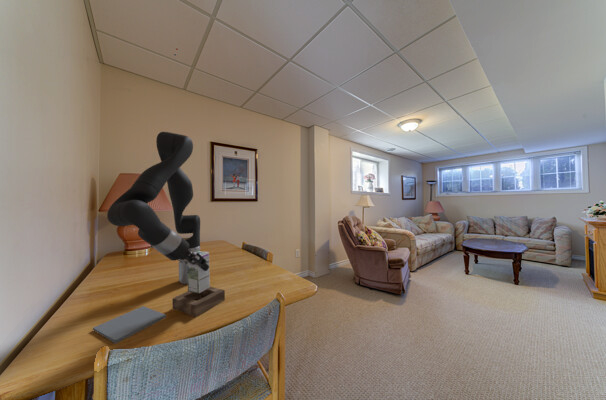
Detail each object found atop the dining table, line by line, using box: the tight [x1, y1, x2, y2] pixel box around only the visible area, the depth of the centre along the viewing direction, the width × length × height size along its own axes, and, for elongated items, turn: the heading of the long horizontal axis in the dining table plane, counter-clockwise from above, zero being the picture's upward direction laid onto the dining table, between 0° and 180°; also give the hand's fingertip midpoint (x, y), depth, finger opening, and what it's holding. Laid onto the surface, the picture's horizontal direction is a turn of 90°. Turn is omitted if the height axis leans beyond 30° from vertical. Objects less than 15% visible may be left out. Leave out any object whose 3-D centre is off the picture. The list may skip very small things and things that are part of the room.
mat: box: [92, 305, 167, 345], centre depth 67 cm, size 14×14×1 cm
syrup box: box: [187, 250, 211, 293], centre depth 79 cm, size 6×6×14 cm
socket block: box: [172, 286, 226, 318], centre depth 79 cm, size 13×13×4 cm
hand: (201, 267), depth 80 cm, fingers closed on syrup box, 6 cm apart
